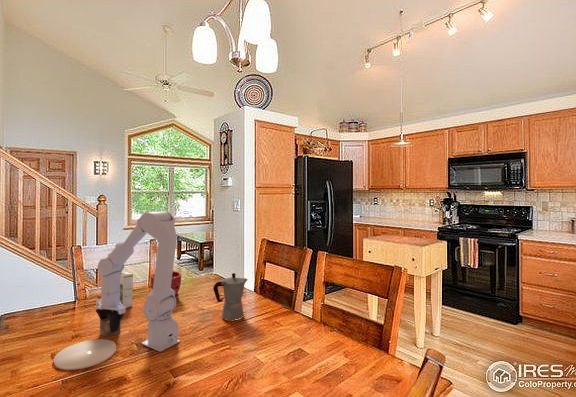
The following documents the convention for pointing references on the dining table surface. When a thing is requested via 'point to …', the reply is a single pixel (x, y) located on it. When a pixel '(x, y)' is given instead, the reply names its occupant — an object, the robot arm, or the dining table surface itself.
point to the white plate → (84, 354)
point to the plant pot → (172, 282)
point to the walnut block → (107, 328)
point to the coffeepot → (231, 297)
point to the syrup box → (126, 289)
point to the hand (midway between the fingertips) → (110, 329)
